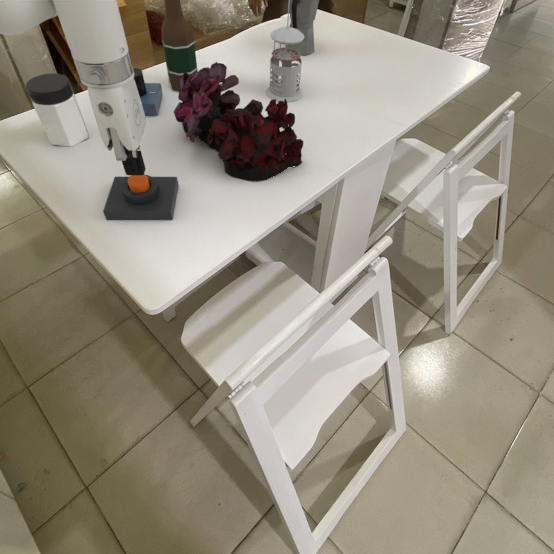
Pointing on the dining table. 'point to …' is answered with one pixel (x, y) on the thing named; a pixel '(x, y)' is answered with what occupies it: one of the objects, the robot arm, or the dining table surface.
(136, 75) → the temp dial
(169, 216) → the switch block
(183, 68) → the beer bottle
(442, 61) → the dining table surface
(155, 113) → the dial base
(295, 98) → the french press
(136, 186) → the button
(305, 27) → the coffeepot
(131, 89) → the robot arm
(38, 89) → the jar
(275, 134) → the flower arrangement
